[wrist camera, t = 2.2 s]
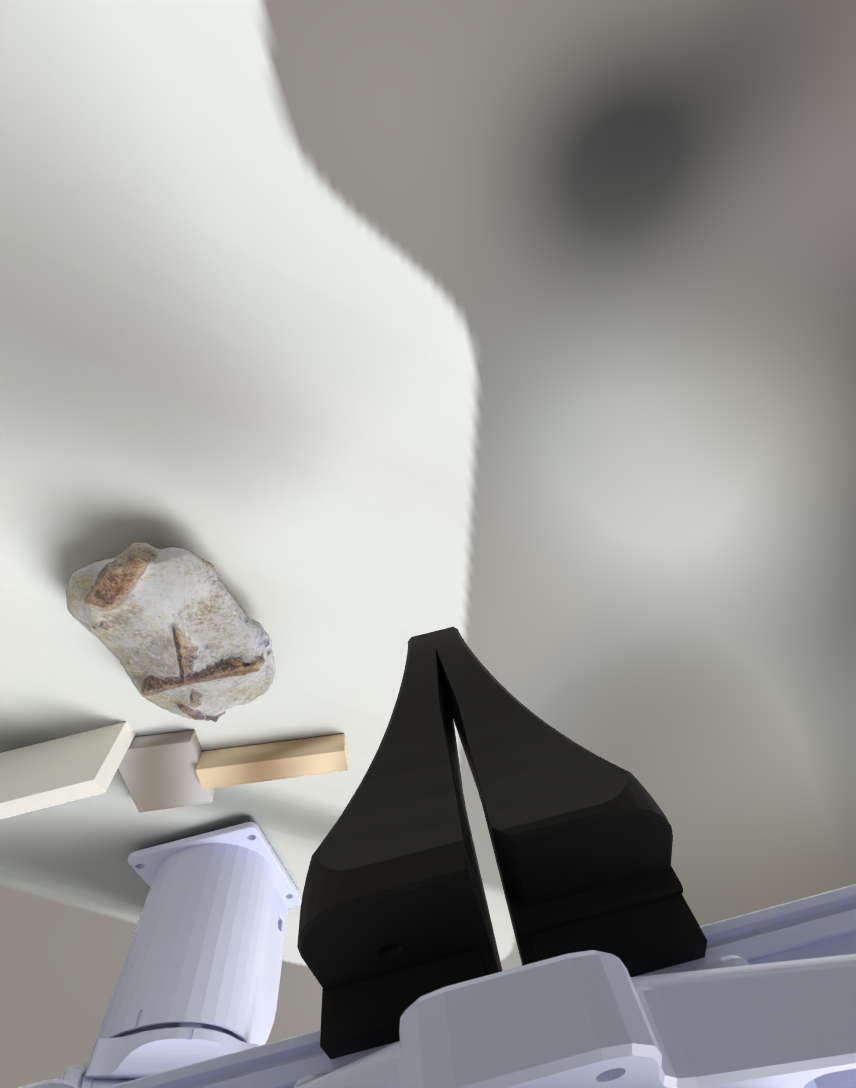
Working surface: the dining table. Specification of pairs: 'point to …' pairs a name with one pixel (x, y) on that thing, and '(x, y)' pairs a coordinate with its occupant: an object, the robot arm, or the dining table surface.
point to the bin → (61, 769)
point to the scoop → (218, 766)
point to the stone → (174, 630)
